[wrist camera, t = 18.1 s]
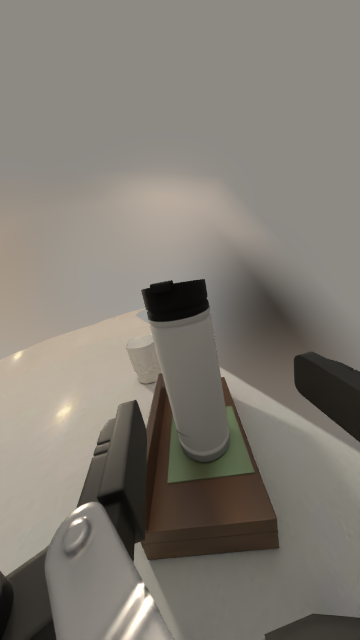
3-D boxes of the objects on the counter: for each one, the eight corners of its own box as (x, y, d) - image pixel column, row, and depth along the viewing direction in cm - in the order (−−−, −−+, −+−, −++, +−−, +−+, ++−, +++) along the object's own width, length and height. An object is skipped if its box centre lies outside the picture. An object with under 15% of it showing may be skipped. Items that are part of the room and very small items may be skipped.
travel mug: (173, 463, 21) (124, 289, 15) (186, 416, 27) (154, 280, 21) (230, 471, 19) (197, 276, 13) (230, 418, 25) (208, 269, 19)
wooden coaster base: (226, 394, 35) (222, 362, 33) (279, 548, 16) (275, 494, 14) (166, 403, 36) (158, 373, 34) (147, 560, 17) (126, 511, 15)
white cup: (165, 364, 51) (157, 331, 48) (166, 381, 43) (157, 343, 41) (138, 371, 50) (128, 338, 48) (134, 388, 43) (122, 351, 40)
